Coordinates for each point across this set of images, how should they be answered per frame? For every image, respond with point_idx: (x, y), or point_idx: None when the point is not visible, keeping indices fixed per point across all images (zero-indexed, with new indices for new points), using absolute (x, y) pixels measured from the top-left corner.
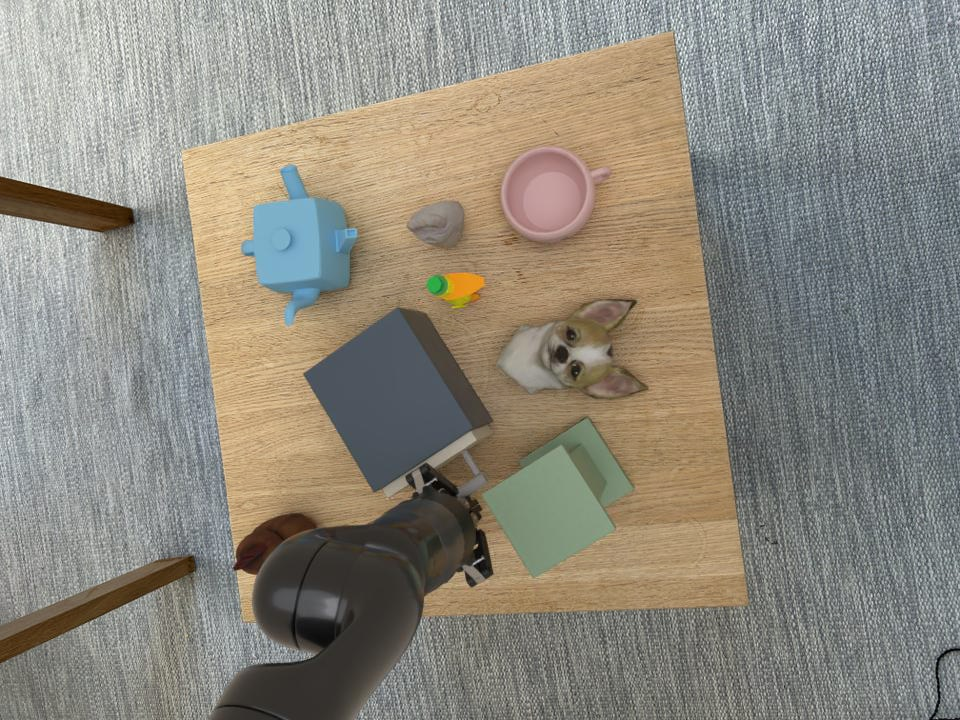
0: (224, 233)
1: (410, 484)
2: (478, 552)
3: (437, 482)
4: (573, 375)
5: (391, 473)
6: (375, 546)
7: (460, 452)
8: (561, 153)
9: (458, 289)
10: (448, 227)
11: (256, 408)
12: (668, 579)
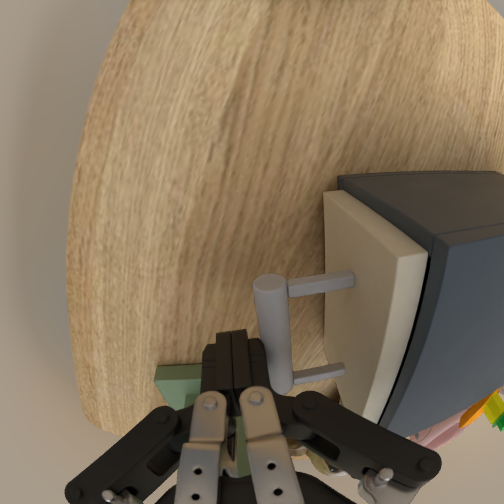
0: None
1: (417, 481)
2: (147, 487)
3: (358, 475)
4: (331, 466)
5: (446, 320)
6: None
7: (347, 376)
8: (450, 439)
9: (478, 412)
10: (500, 390)
11: (498, 43)
12: (96, 405)
